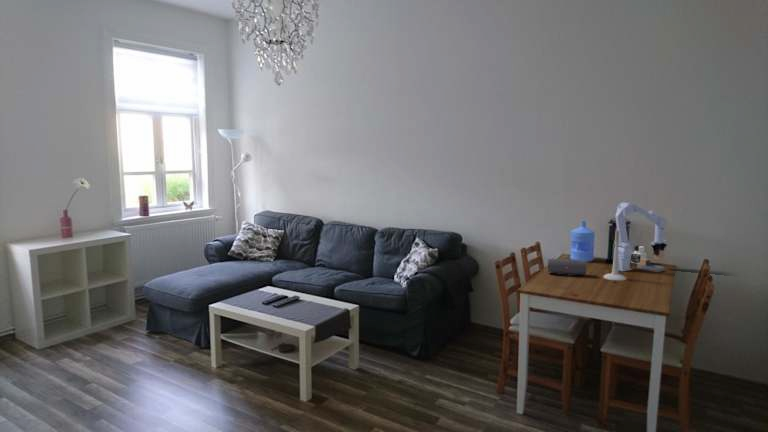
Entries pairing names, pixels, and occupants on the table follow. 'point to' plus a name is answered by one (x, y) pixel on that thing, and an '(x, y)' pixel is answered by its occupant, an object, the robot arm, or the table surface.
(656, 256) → the tan matte cube
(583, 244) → the water jug
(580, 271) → the bluetooth speaker
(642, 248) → the medicine bottle
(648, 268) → the grey rimmed tray
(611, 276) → the candlestick
